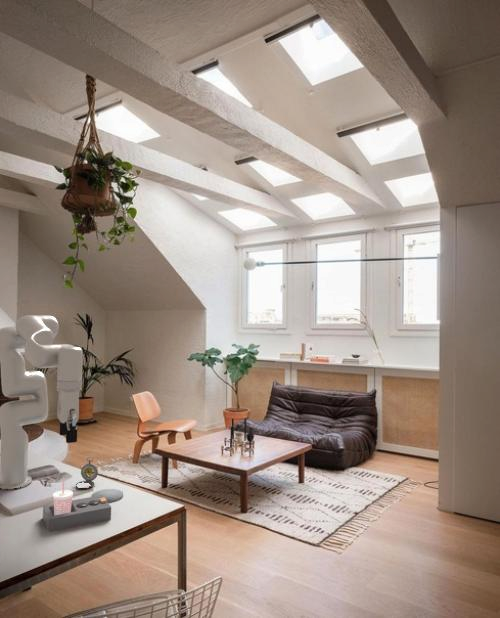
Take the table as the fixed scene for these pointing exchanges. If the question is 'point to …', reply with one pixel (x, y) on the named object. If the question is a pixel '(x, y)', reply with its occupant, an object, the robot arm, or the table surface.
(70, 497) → the beverage cup
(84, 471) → the pocket watch
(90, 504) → the gray desk organizer
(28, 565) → the table surface
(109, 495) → the slate mat
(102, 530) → the table surface
